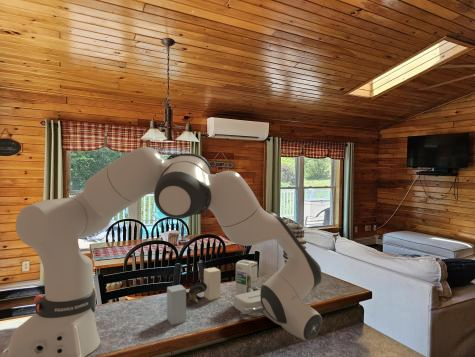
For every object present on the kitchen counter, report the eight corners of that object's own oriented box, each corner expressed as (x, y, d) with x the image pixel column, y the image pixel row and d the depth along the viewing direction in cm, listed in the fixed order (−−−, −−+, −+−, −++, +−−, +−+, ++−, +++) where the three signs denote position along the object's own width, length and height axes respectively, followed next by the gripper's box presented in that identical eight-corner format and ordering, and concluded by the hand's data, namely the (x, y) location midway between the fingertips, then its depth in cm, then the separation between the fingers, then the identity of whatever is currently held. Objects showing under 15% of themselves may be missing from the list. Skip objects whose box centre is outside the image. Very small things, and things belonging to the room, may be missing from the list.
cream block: (209, 300, 114) (209, 272, 114) (203, 296, 118) (203, 269, 117) (220, 297, 116) (220, 270, 116) (214, 293, 120) (214, 267, 120)
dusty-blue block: (171, 325, 96) (171, 291, 95) (167, 319, 100) (167, 287, 99) (186, 321, 98) (186, 289, 98) (180, 315, 102) (180, 284, 102)
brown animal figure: (200, 305, 107) (212, 291, 115) (188, 287, 107) (200, 274, 115) (185, 313, 110) (197, 299, 118) (173, 296, 110) (186, 283, 118)
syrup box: (234, 304, 110) (234, 262, 110) (243, 298, 115) (243, 258, 115) (249, 308, 107) (249, 265, 107) (257, 302, 112) (257, 261, 112)
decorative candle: (306, 285, 129) (307, 223, 128) (305, 293, 120) (305, 227, 119) (284, 283, 131) (284, 222, 131) (280, 291, 123) (281, 226, 122)
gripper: (247, 323, 91) (224, 305, 103) (302, 308, 101) (276, 293, 113) (247, 301, 90) (224, 286, 102) (302, 288, 101) (276, 275, 113)
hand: (252, 289), depth 108 cm, fingers closed
